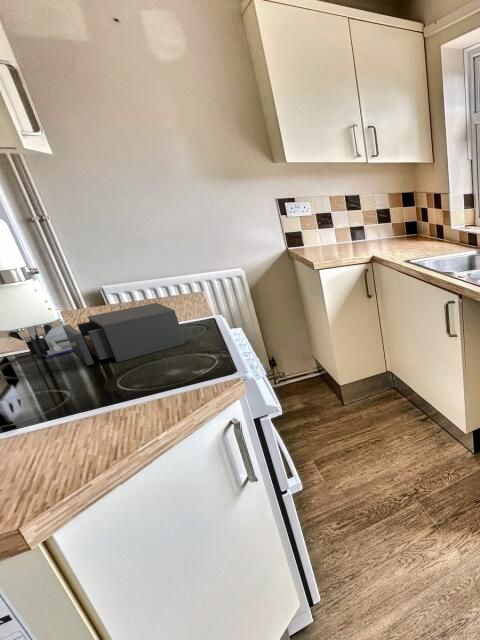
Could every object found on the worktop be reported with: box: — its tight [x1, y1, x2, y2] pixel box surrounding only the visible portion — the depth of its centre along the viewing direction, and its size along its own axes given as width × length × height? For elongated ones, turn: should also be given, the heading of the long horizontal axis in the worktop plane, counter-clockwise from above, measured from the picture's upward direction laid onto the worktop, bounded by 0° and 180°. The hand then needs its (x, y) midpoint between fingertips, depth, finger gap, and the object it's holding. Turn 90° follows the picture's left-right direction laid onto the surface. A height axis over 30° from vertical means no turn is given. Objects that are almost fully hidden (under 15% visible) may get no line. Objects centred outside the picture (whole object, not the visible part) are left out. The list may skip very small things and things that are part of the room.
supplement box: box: [25, 308, 73, 359], centre depth 109 cm, size 6×6×12 cm
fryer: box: [87, 302, 186, 363], centre depth 111 cm, size 15×14×10 cm
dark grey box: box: [47, 321, 114, 366], centre depth 106 cm, size 17×12×8 cm
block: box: [84, 335, 97, 354], centre depth 106 cm, size 4×4×4 cm
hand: (42, 354), depth 98 cm, fingers closed
